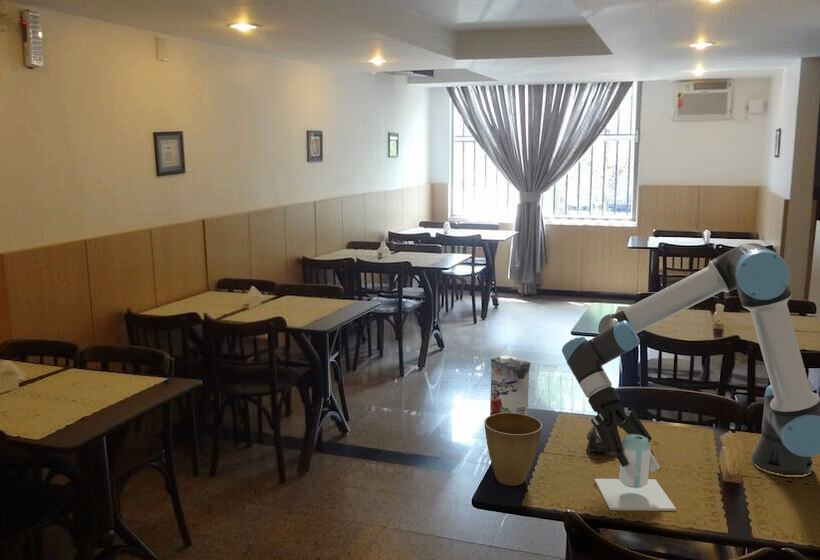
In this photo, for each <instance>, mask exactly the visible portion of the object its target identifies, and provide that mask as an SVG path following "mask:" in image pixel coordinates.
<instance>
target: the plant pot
mask: <svg viewBox="0 0 820 560" xmlns="http://www.w3.org/2000/svg"><path fill="white" fill-rule="evenodd" d="M542 429H543V423H542V422H541V421H540V420H539V419H537V418H535V417H533V416H531V415H528V414H527V415H525V414H519V413H497V414H493V415H491V416H490V415H489V416H487V417H486V418H485V419H484V432H485V438H486V445H487V450H488V455H489V459H490V463H491V466H492V469H493V472H494V473H493V474H494V475H495V478H496V480H497V482H499V483H500V484H502V485H505V486H511V487H512V486H513V487H514V486H515V487H516V486H520V485H522V484H524V483H525V482H526V479H527V477H528V475H529V472H530V470H531V468H532V465H533V463H534V460H535V457H536V455H537V454H536V453H537V450H538V447H539V443H540V440H541V439H540V438H541V435H542Z"/></svg>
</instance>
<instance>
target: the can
mask: <svg viewBox="0 0 820 560" xmlns="http://www.w3.org/2000/svg"><path fill="white" fill-rule="evenodd" d="M623 438H624V439H622V440H621V441H622V443H621V444H622V448H623V451H622V452H624V451H626V452H627V453H628V455H629V457H630V458H631V460H632V462H633V464H634V465H635V467H636V469H637V471H638V473H639V474H640V475H639V476H637V477H636V478H634V479H632V480H631V479H630V477H629V475H628V474H627V472H626V470H625V468H624V467H622V465H621V464H620V463H619V475H618V479H619V480H620V482H621V483H623V484H624V485H625V486H628V487H632V488H641V487H643V486H645V485H647V484H648V479H649V473H650V469H649V462H650V449H651V450H652V448H651V447H652V446H651V443H650V442H648V438H646V437H645V436H642V435H637V434H629V435H628V434H626V435H625V436H624V437H623Z"/></svg>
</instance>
